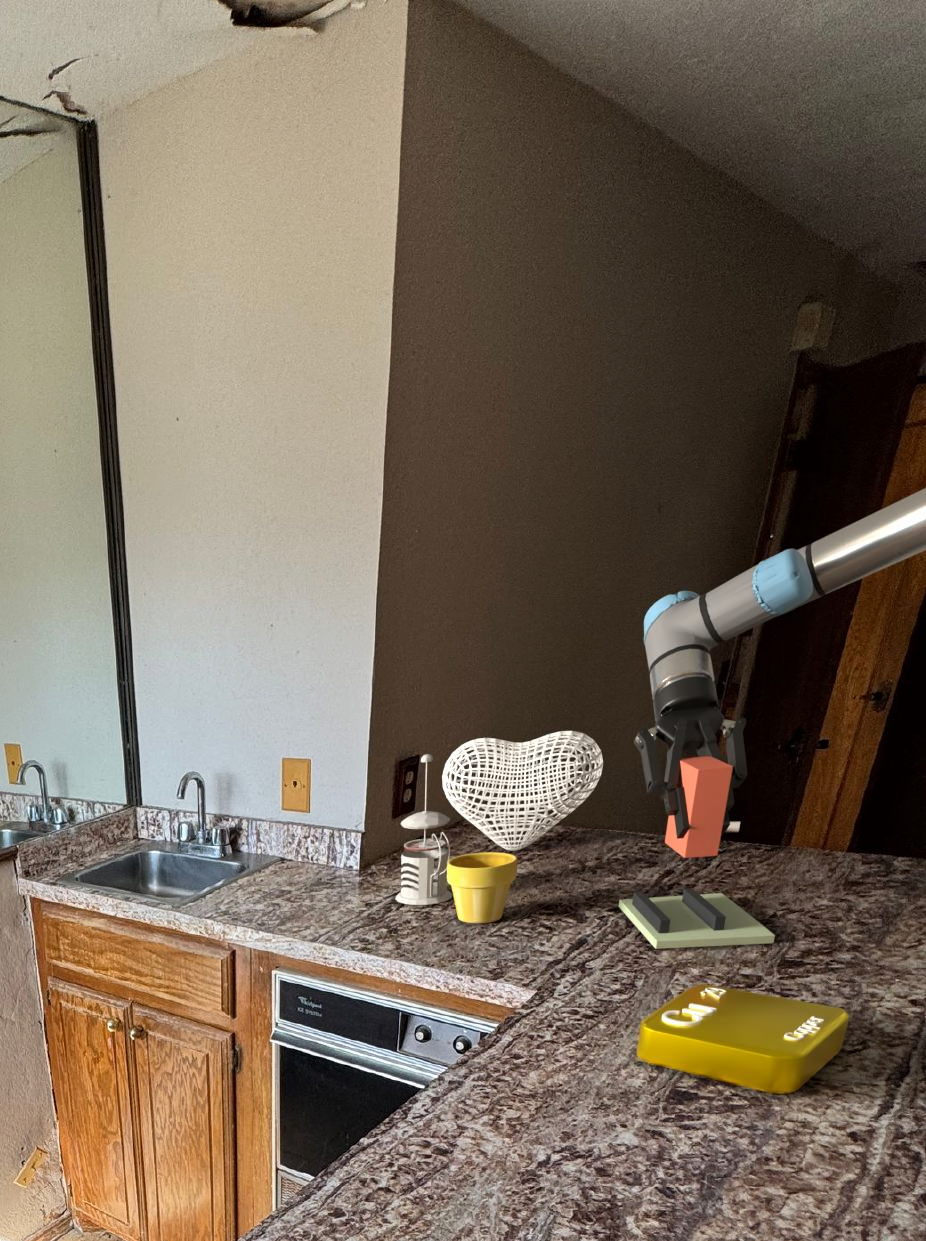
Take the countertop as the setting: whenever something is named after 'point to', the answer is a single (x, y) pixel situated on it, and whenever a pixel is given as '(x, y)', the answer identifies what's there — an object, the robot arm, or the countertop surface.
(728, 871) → the countertop surface
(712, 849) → the salmon orange rectangular block
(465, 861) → the flower pot
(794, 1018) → the element tile
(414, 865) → the french press
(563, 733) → the heart
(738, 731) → the robot arm
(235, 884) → the countertop surface
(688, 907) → the base pad
